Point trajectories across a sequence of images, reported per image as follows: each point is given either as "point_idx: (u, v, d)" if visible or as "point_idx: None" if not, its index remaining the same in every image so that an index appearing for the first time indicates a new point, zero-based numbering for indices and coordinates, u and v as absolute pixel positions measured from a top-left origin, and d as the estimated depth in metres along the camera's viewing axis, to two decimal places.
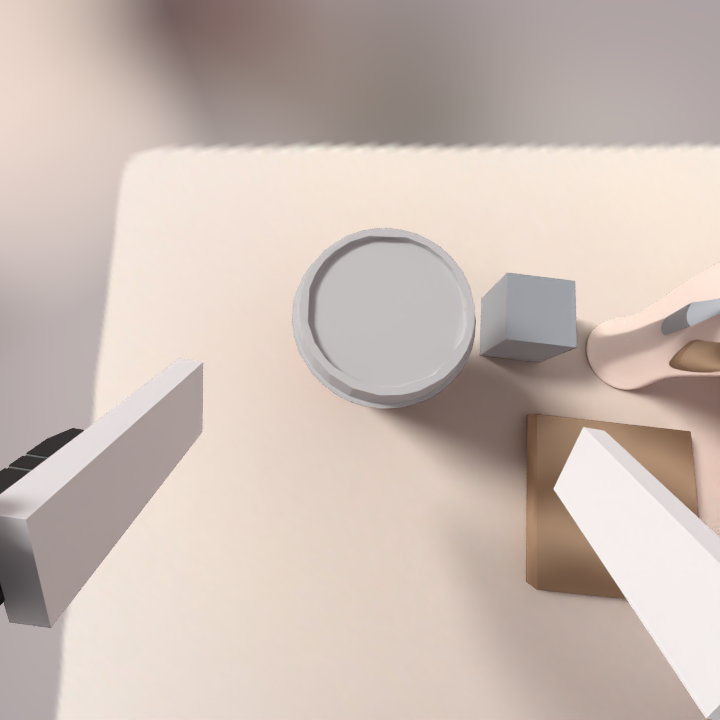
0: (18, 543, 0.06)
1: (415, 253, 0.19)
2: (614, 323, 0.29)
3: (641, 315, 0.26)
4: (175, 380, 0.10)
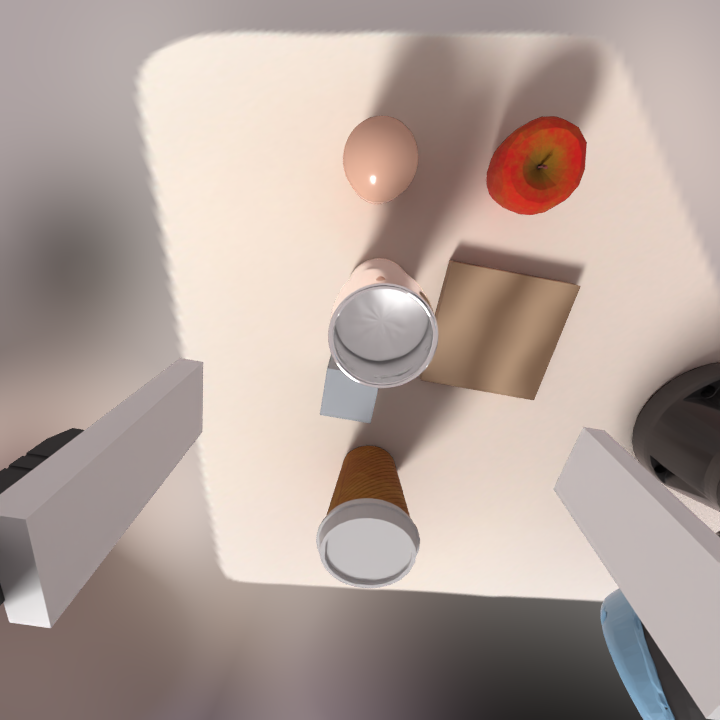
0: (18, 543, 0.06)
1: (334, 536, 0.32)
2: None
3: None
4: (175, 380, 0.10)
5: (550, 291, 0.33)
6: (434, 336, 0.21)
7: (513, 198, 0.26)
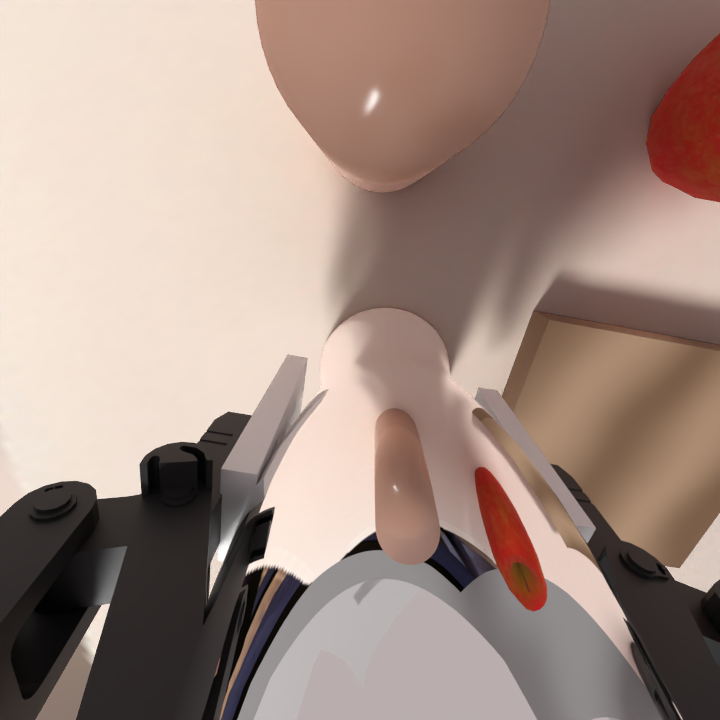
0: (245, 494, 0.08)
1: None
2: None
3: None
4: (295, 373, 0.12)
5: None
6: None
7: None
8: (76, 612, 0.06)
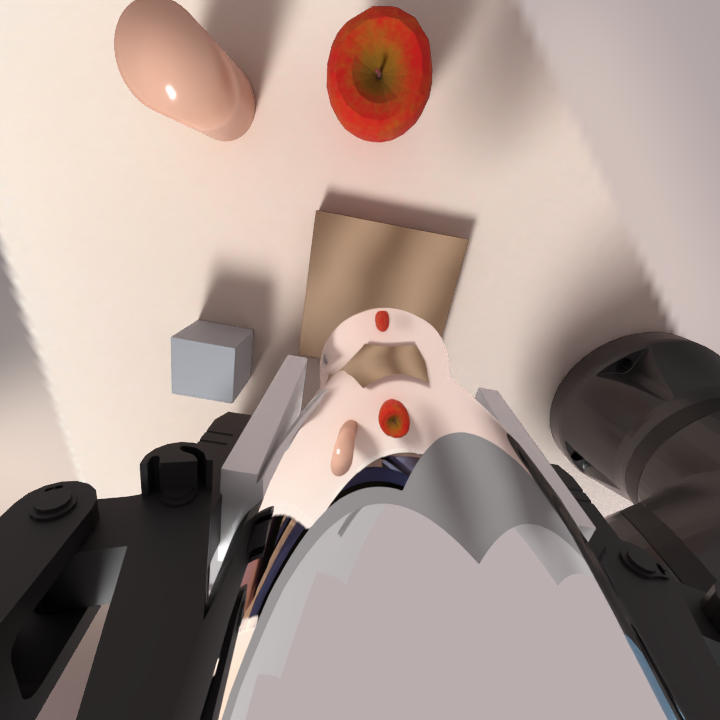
0: (245, 493, 0.08)
1: None
2: None
3: None
4: (295, 373, 0.12)
5: (434, 246, 0.28)
6: None
7: (346, 114, 0.21)
8: (76, 612, 0.06)
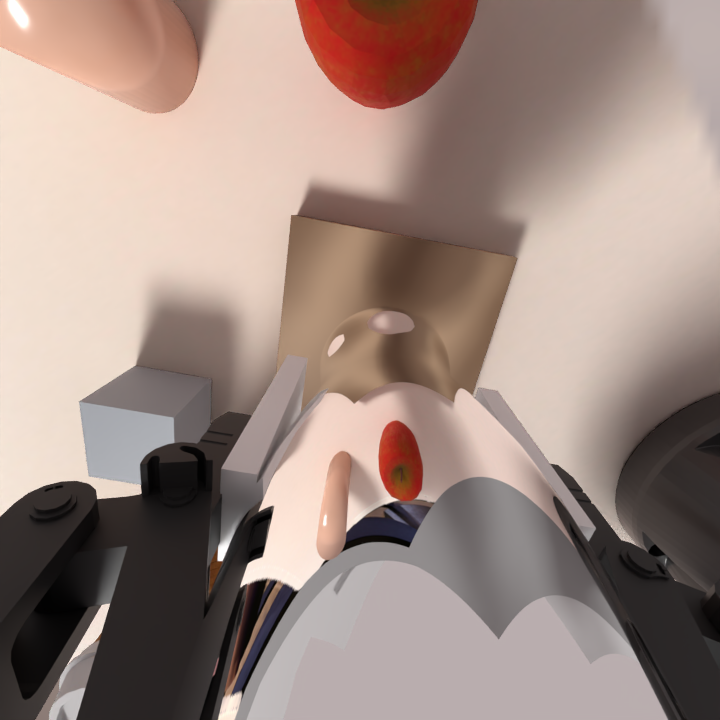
0: (245, 494, 0.08)
1: (73, 705, 0.18)
2: None
3: None
4: (295, 373, 0.12)
5: (465, 267, 0.19)
6: None
7: (329, 47, 0.12)
8: (76, 612, 0.06)
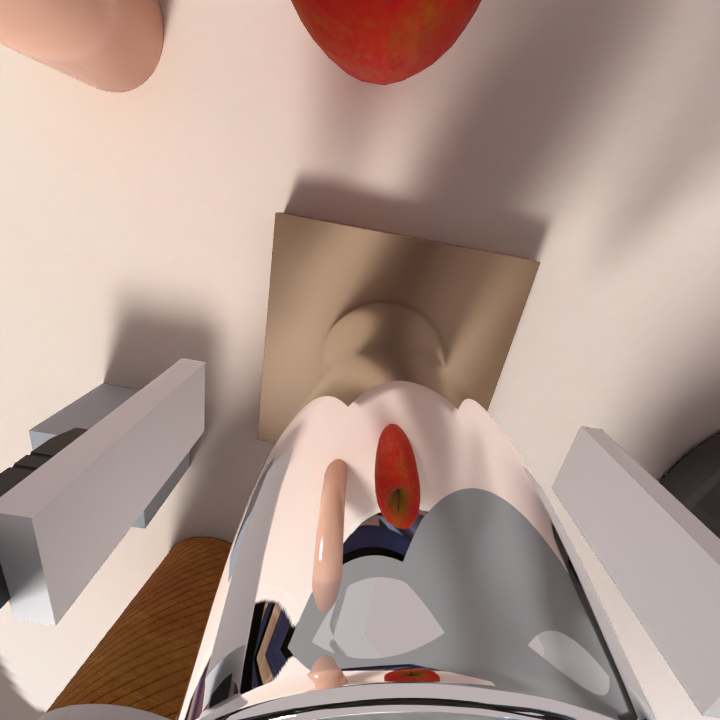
0: (24, 541, 0.06)
1: None
2: None
3: None
4: (177, 380, 0.10)
5: (479, 273, 0.17)
6: None
7: None
8: None
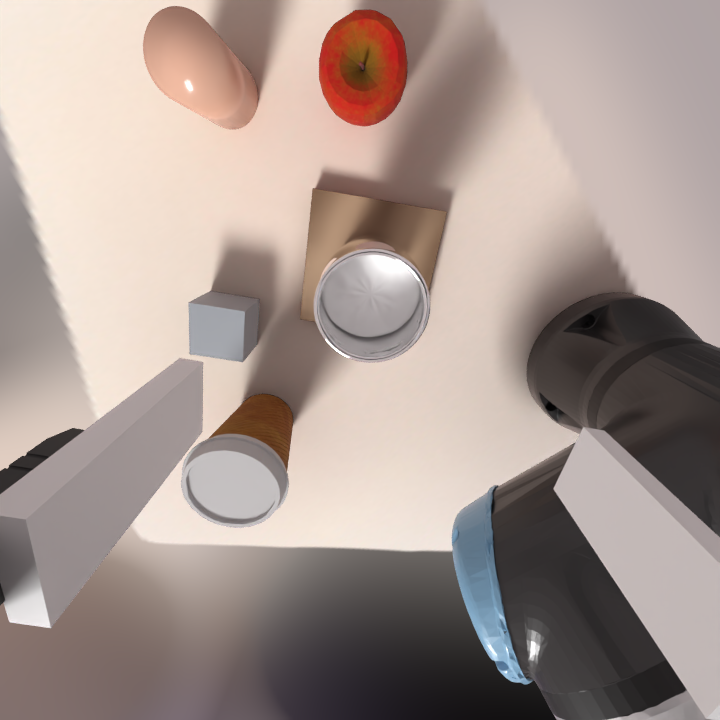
0: (18, 543, 0.06)
1: (194, 472, 0.31)
2: None
3: None
4: (175, 380, 0.10)
5: (417, 218, 0.32)
6: (425, 306, 0.20)
7: (336, 101, 0.25)
8: None
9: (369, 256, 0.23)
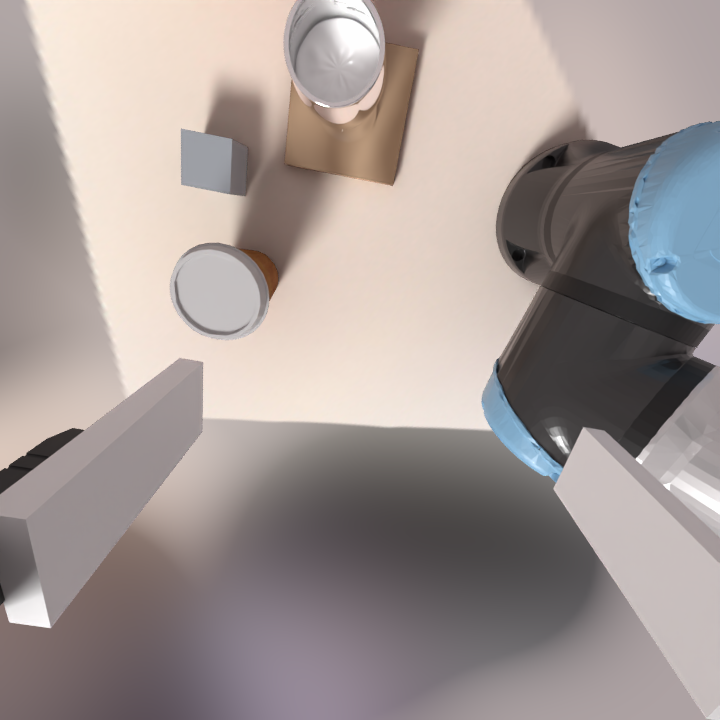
0: (18, 543, 0.06)
1: (182, 277, 0.34)
2: (325, 123, 0.36)
3: None
4: (175, 380, 0.10)
5: (391, 56, 0.35)
6: (381, 44, 0.23)
7: None
8: None
9: (337, 29, 0.26)
